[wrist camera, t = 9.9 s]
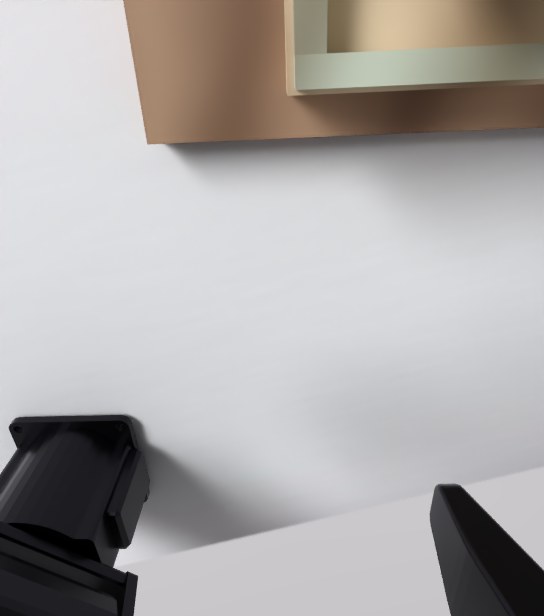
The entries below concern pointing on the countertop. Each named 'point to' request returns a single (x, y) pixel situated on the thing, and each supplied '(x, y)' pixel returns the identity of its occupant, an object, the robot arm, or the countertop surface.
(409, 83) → the plinth
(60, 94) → the countertop surface
